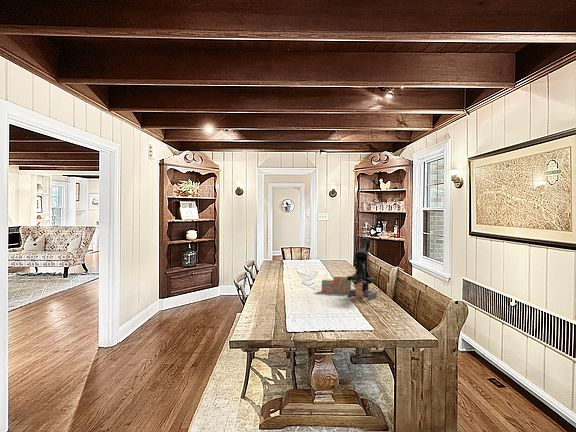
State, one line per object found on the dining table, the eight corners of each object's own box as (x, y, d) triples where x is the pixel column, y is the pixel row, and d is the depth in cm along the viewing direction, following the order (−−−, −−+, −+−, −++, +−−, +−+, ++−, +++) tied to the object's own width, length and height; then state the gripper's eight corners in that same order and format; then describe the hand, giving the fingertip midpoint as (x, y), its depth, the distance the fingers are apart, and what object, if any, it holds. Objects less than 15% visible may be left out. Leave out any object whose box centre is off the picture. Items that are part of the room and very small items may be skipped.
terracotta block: (359, 294, 323) (359, 283, 323) (365, 295, 320) (365, 283, 320) (355, 295, 319) (355, 283, 319) (361, 296, 316) (361, 284, 316)
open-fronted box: (355, 294, 332) (355, 288, 331) (376, 297, 321) (376, 291, 321) (347, 296, 323) (347, 290, 323) (368, 299, 312) (368, 294, 312)
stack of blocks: (321, 292, 336) (321, 276, 336) (321, 291, 342) (321, 274, 342) (350, 293, 335) (351, 276, 334) (350, 292, 341) (350, 275, 341)
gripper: (343, 269, 319) (342, 291, 319) (366, 271, 307) (366, 295, 308) (351, 267, 328) (351, 289, 328) (374, 270, 316) (374, 292, 316)
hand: (360, 291), depth 320 cm, fingers closed on terracotta block, 5 cm apart
